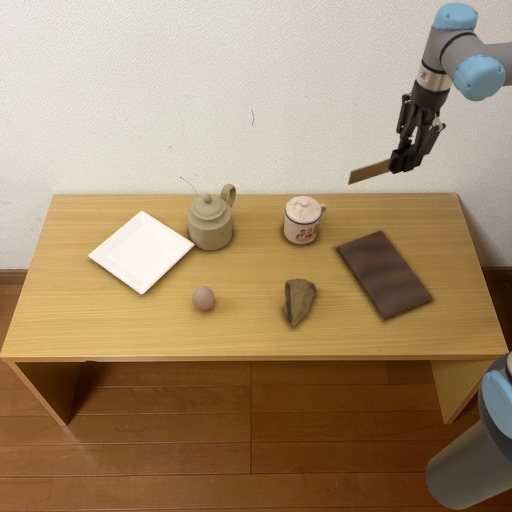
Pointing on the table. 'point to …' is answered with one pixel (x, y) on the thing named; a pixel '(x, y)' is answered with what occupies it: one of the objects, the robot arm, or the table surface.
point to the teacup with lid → (302, 219)
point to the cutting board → (383, 274)
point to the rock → (298, 298)
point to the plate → (141, 251)
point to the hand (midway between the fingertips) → (403, 165)
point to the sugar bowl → (211, 219)
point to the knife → (384, 165)
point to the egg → (203, 298)
